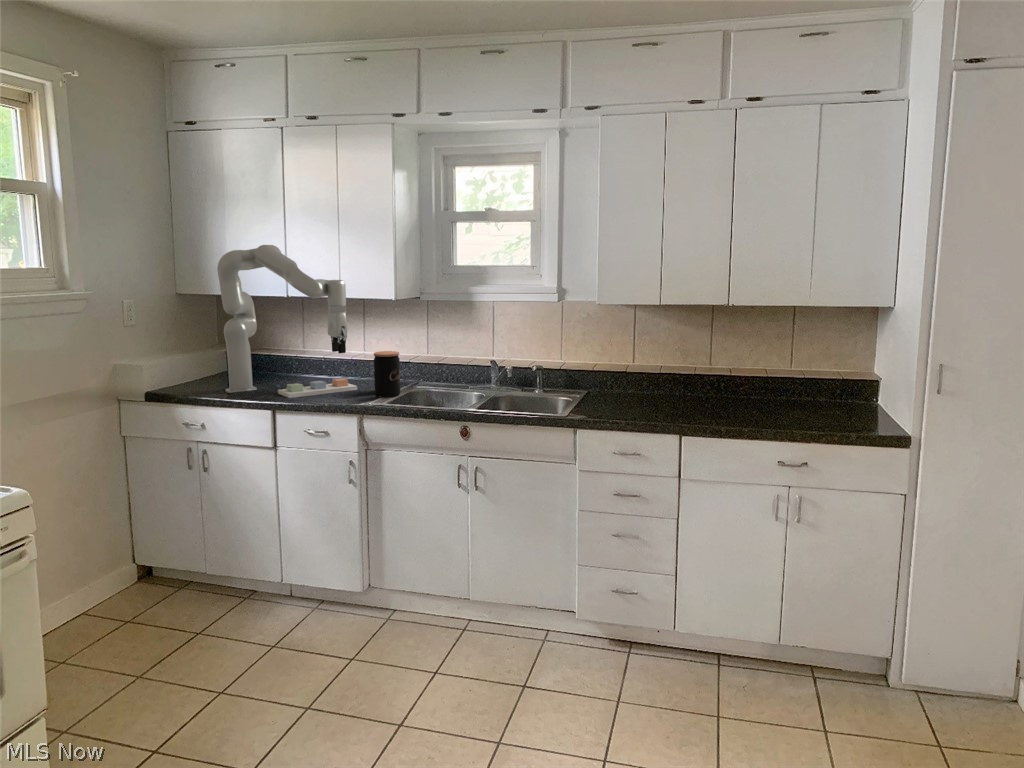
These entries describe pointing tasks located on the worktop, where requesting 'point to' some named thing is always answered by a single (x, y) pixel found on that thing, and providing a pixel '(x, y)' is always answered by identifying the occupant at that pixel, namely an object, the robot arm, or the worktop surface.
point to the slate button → (317, 385)
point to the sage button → (294, 387)
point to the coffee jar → (387, 373)
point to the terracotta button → (339, 382)
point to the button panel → (309, 391)
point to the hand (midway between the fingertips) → (338, 351)
